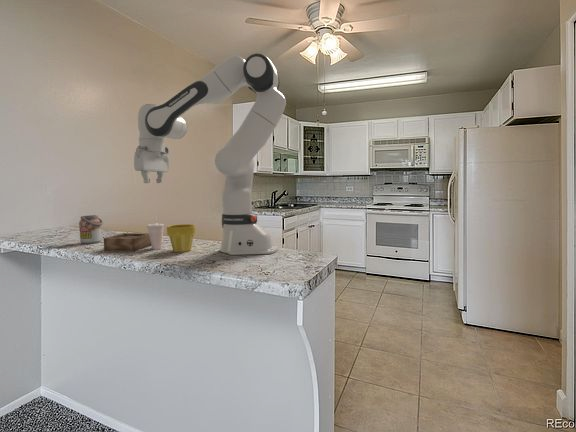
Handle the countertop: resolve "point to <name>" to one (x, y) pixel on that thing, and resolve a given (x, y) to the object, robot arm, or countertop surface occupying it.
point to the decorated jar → (90, 229)
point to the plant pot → (181, 236)
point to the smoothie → (156, 234)
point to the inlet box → (127, 242)
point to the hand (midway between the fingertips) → (153, 183)
